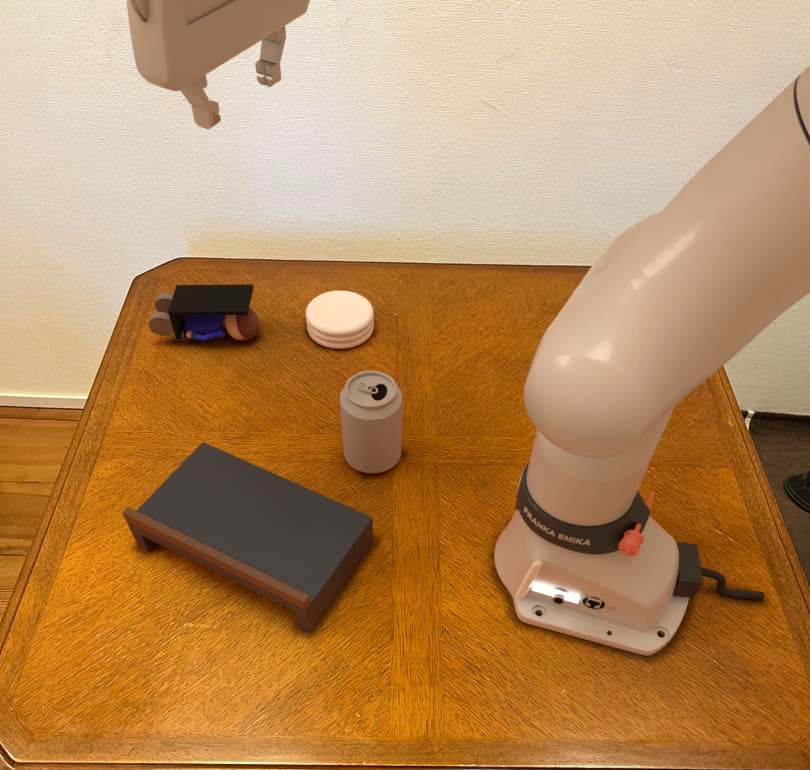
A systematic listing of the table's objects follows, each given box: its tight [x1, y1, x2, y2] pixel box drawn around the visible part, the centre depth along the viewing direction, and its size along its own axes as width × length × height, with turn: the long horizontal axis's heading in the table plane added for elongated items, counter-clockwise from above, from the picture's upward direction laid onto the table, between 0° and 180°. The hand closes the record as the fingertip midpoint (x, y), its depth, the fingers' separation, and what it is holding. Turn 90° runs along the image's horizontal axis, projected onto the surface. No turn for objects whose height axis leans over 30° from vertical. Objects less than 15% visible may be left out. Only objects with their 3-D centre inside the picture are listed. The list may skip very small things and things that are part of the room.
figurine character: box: [148, 283, 260, 342], centre depth 107 cm, size 7×8×15 cm
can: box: [339, 370, 403, 474], centre depth 91 cm, size 8×8×12 cm
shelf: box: [121, 441, 374, 634], centre depth 85 cm, size 24×14×7 cm, turn 62°
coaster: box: [305, 290, 375, 350], centre depth 110 cm, size 10×10×4 cm
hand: (240, 103), depth 67 cm, fingers open, 8 cm apart
